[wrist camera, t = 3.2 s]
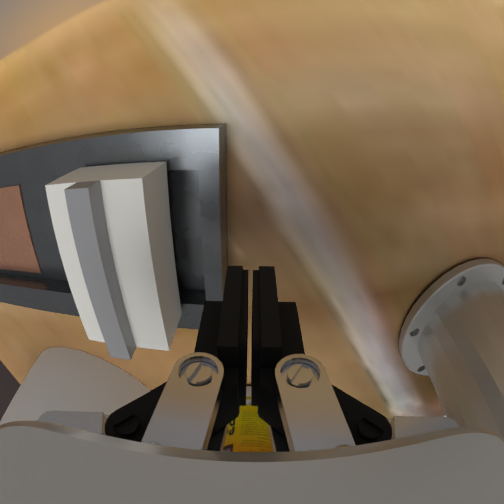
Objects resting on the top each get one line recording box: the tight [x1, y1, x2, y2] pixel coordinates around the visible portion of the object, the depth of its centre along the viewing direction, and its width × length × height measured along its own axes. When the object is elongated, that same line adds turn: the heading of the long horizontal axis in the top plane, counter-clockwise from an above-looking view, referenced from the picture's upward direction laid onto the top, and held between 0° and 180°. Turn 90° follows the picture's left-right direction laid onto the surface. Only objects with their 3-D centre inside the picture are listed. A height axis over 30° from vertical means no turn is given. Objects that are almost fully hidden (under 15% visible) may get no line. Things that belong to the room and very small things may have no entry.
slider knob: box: [45, 161, 182, 360], centre depth 15 cm, size 5×9×6 cm, turn 179°
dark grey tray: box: [0, 124, 228, 329], centre depth 18 cm, size 26×12×3 cm, turn 89°
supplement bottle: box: [223, 386, 273, 452], centre depth 23 cm, size 6×6×10 cm
